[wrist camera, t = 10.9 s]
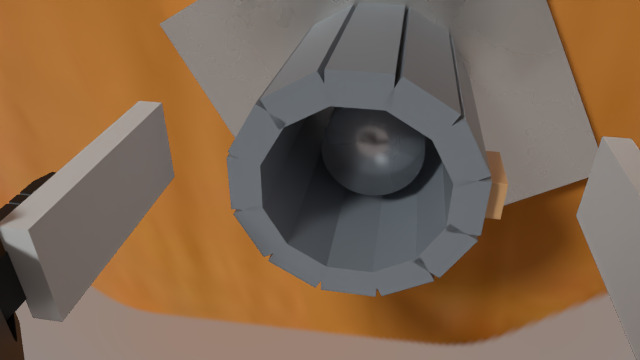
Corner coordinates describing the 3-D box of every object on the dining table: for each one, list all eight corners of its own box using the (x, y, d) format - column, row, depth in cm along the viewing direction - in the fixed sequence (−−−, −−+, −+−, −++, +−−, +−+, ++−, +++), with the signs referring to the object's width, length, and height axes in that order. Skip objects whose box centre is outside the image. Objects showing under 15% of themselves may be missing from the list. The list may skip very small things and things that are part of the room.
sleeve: (289, 165, 24) (237, 279, 18) (286, -1, 20) (217, 62, 14) (466, 182, 23) (483, 310, 16) (497, 9, 19) (536, 83, 13)
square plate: (169, 18, 23) (95, 60, 18) (481, -176, 17) (504, -196, 12) (323, 254, 28) (300, 339, 23) (599, 160, 23) (650, 243, 18)
